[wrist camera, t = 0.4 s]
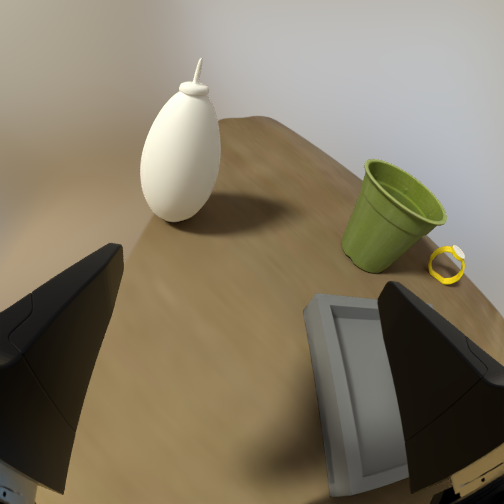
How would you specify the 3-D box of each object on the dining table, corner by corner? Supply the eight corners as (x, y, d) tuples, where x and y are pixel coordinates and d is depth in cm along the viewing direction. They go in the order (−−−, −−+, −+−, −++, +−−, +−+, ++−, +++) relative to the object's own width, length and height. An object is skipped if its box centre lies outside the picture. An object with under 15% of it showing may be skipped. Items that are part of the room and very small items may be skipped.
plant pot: (346, 291, 33) (401, 215, 25) (313, 221, 40) (348, 150, 33) (412, 288, 37) (462, 228, 29) (376, 228, 44) (412, 170, 37)
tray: (456, 453, 20) (477, 444, 18) (330, 496, 16) (350, 495, 14) (417, 318, 33) (431, 304, 31) (303, 311, 29) (315, 293, 27)
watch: (448, 283, 41) (472, 259, 37) (447, 293, 39) (473, 269, 35) (423, 260, 42) (446, 235, 38) (421, 270, 40) (446, 244, 36)
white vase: (180, 189, 37) (208, 50, 25) (219, 224, 35) (264, 71, 22) (126, 207, 32) (140, 49, 20) (163, 249, 30) (191, 67, 17)
